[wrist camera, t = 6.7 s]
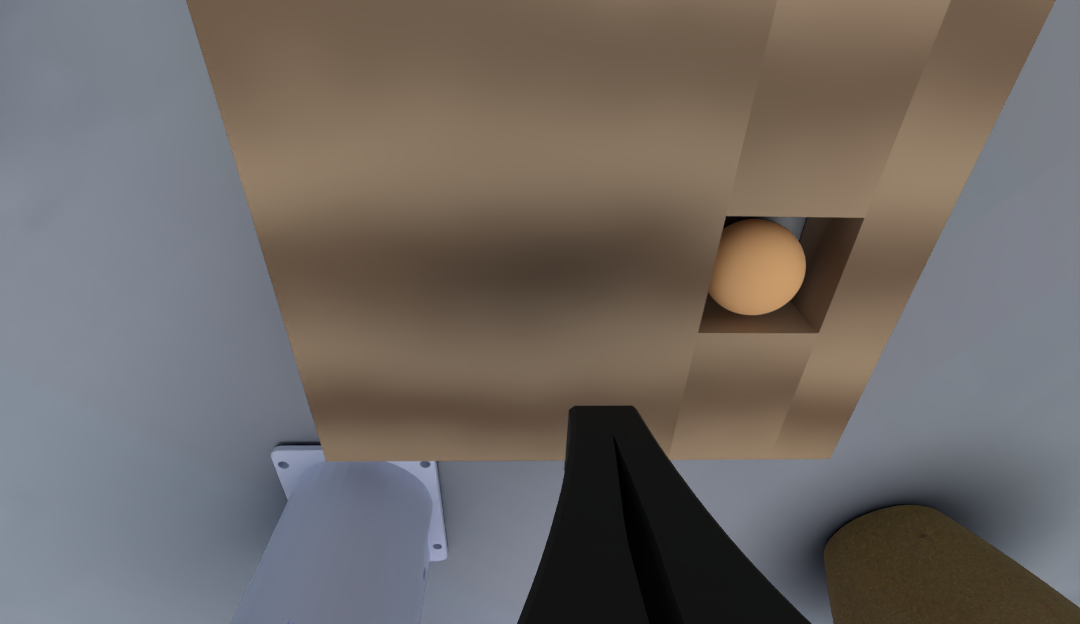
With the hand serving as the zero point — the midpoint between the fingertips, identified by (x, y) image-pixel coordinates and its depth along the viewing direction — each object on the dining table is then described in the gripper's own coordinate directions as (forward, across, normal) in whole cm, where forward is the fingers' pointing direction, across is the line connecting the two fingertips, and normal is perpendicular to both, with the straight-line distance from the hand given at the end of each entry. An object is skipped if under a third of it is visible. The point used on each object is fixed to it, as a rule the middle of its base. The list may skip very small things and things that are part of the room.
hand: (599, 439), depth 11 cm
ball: (+8, -7, 0) cm, 11 cm away
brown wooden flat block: (+10, -1, 0) cm, 10 cm away
